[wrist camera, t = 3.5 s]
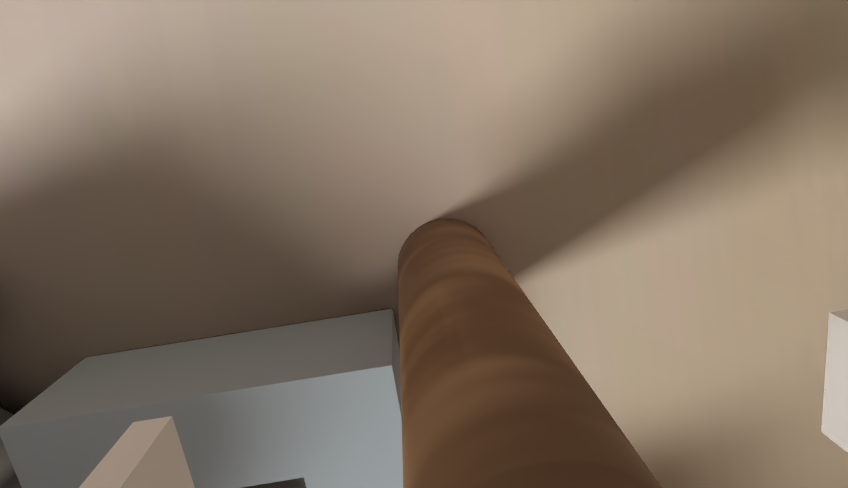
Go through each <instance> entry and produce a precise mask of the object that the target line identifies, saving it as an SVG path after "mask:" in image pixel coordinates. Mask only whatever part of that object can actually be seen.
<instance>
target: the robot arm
mask: <svg viewBox="0 0 848 488" xmlns="http://www.w3.org/2000/svg"><path fill="white" fill-rule="evenodd" d="M821 432H822V433H823V434H825V435H826V436H827V437H828V438H830V439H831V440H832V441H834V442H835V443H836V444H838V445H839V446H840V447H841V448H843V449H844V450H845V451H847V452H848V310H844V311H837V312H831V313H829V327H828V341H827V356H826V370H825V385H824V400H823V414H822V429H821ZM79 488H195V487H194V484H193V481H192V477H191V474H190V471H189V468H188V465H187V462H186V458H185V455H184V452H183V449H182V446H181V443H180V440H179V436H178V433H177V430H176V427H175V424H174V421H173V418H172V416H169V417H163V418H157V419H150V420H144V421H137V422H133V423H132V424H131V425H130V427H129V428H128V429H127V430H126V431H125V433H124V434H123V435H122V436H121V437H120V439H119V440H118V441H117V442H116V444H115V445H114V446H113V447H112V448H111V450H110V451H109V452H108V453H107V454H106V456H105V457H104V458H103V459H102V460H101V462H100V463H99V464H98V465H97V466H96V468H95V469H94V470H93V471H92V472H91V474H90V475H89V476H88V477H87V478H86V480H85V481H84V482H83V483H82V485H81V486H80V487H79Z"/></svg>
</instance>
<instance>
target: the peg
mask: <svg viewBox="0 0 848 488" xmlns="http://www.w3.org/2000/svg"><path fill="white" fill-rule="evenodd" d="M398 295H399V336H400V377H401V419H402V460H403V488H662V487H661V486H660V485H659V483H658V482H657V480H656V479H655V477H654V476H653V475H652V473H651V472H650V470H649V469H648V468H647V466H646V465H645V463H644V462H643V460H642V459H641V458H640V456H639V455H638V453H637V452H636V451H635V449H634V448H633V446H632V445H631V443H630V442H629V441H628V439H627V438H626V436H625V435H624V434H623V432H622V431H621V429H620V428H619V427H618V425H617V424H616V422H615V421H614V419H613V418H612V417H611V415H610V414H609V412H608V411H607V410H606V408H605V407H604V405H603V404H602V402H601V401H600V400H599V398H598V397H597V395H596V394H595V393H594V391H593V390H592V388H591V387H590V385H589V384H588V383H587V381H586V380H585V378H584V377H583V376H582V374H581V373H580V371H579V370H578V369H577V367H576V366H575V364H574V363H573V361H572V360H571V359H570V357H569V356H568V354H567V353H566V352H565V350H564V349H563V347H562V346H561V344H560V343H559V342H558V340H557V339H556V337H555V336H554V335H553V333H552V332H551V330H550V329H549V327H548V326H547V325H546V323H545V322H544V320H543V319H542V318H541V316H540V315H539V313H538V312H537V310H536V309H535V308H534V306H533V305H532V303H531V302H530V301H529V299H528V298H527V296H526V295H525V294H524V292H523V291H522V289H521V288H520V286H519V285H518V284H517V282H516V281H515V279H514V278H513V277H512V275H511V274H510V272H509V271H508V269H507V268H506V267H505V265H504V264H503V262H502V261H501V260H500V258H499V257H498V255H497V254H496V252H495V251H494V250H493V248H492V247H491V245H490V244H489V243H488V241H487V240H486V238H485V237H484V236H483V235H482V233H481V232H480V231H478V230H477V229H476V228H475V227H473V226H472V225H470V224H468V223H466V222H463V221H460V220H455V219H439V220H434V221H431V222H428V223H426V224H424V225H422V226H420V227H419V228H417V229H416V230H415V231H414V232H413V233H411V235H410V236H409V237H408V238H407V239H406V241H405V243H404V244H403V246H402V248H401V251H400V254H399V259H398Z"/></svg>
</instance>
